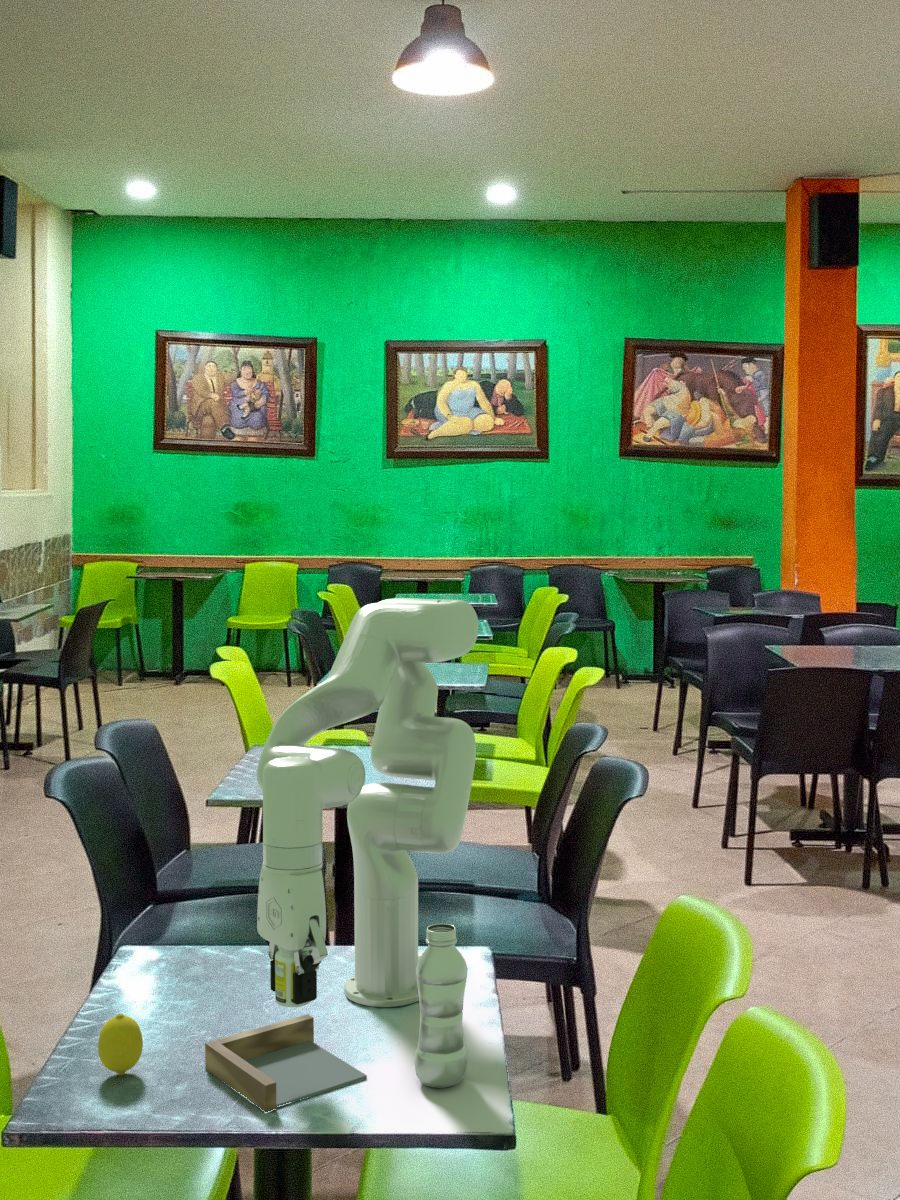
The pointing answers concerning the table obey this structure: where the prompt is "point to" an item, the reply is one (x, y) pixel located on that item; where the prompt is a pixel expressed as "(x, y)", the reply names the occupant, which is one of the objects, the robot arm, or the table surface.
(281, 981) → the supplement bottle
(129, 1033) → the lemon
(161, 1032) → the table surface
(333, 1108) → the table surface
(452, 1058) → the plastic bottle
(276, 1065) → the mat
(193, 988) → the table surface
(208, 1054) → the corner walls
